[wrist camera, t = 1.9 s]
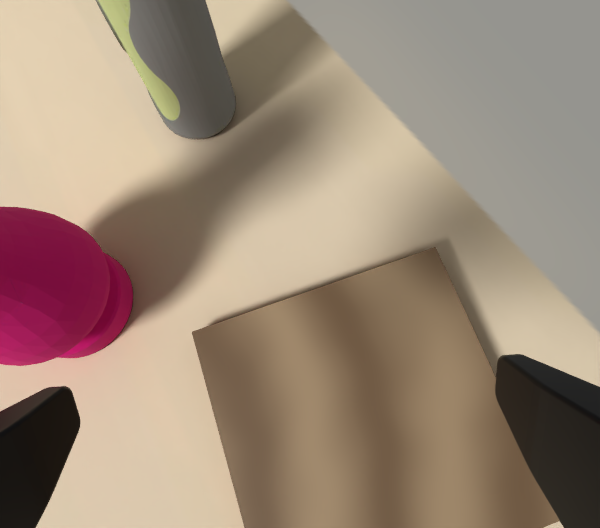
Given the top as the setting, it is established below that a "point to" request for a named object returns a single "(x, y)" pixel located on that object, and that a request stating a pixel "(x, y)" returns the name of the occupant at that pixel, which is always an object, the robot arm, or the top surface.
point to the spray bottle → (176, 61)
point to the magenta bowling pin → (56, 290)
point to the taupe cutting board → (366, 409)
